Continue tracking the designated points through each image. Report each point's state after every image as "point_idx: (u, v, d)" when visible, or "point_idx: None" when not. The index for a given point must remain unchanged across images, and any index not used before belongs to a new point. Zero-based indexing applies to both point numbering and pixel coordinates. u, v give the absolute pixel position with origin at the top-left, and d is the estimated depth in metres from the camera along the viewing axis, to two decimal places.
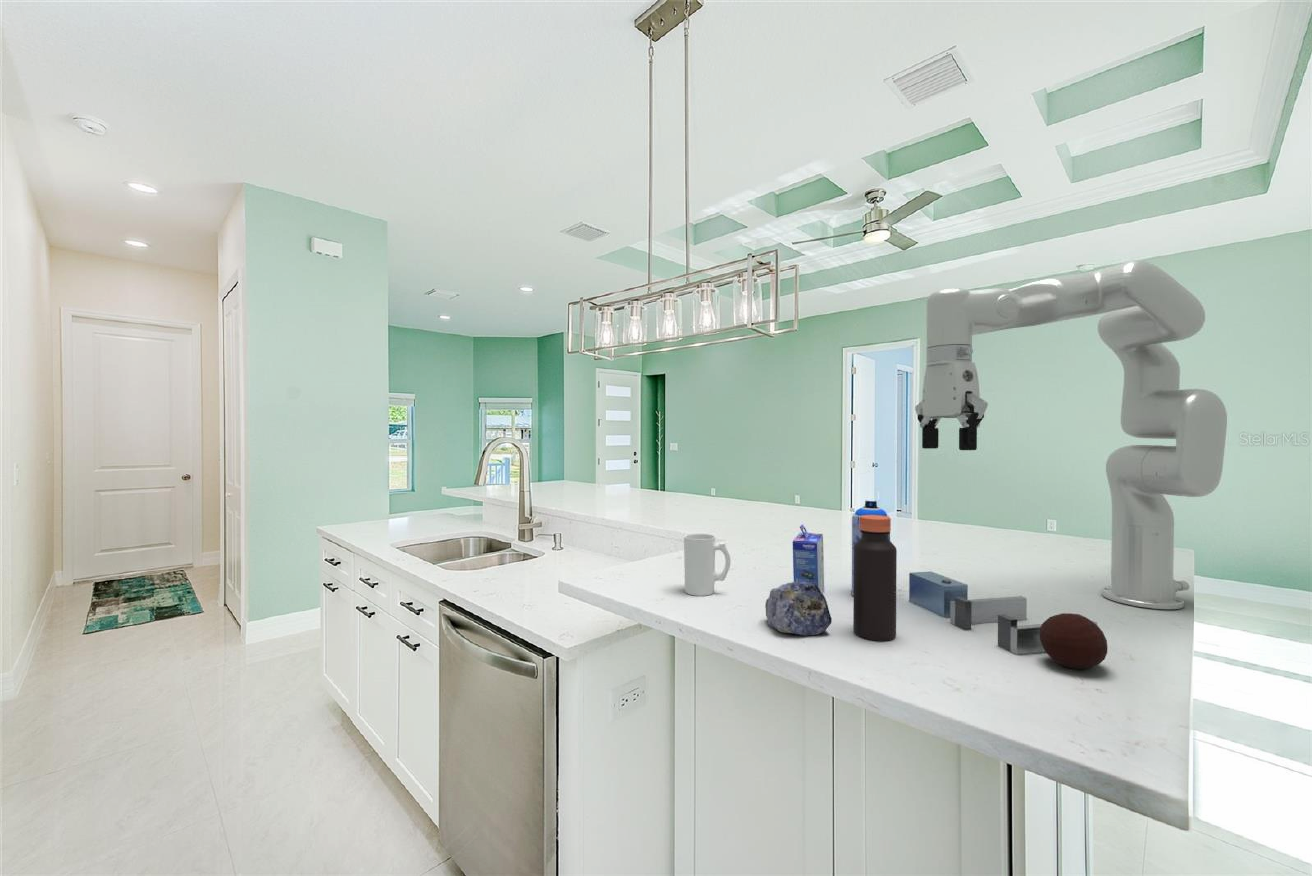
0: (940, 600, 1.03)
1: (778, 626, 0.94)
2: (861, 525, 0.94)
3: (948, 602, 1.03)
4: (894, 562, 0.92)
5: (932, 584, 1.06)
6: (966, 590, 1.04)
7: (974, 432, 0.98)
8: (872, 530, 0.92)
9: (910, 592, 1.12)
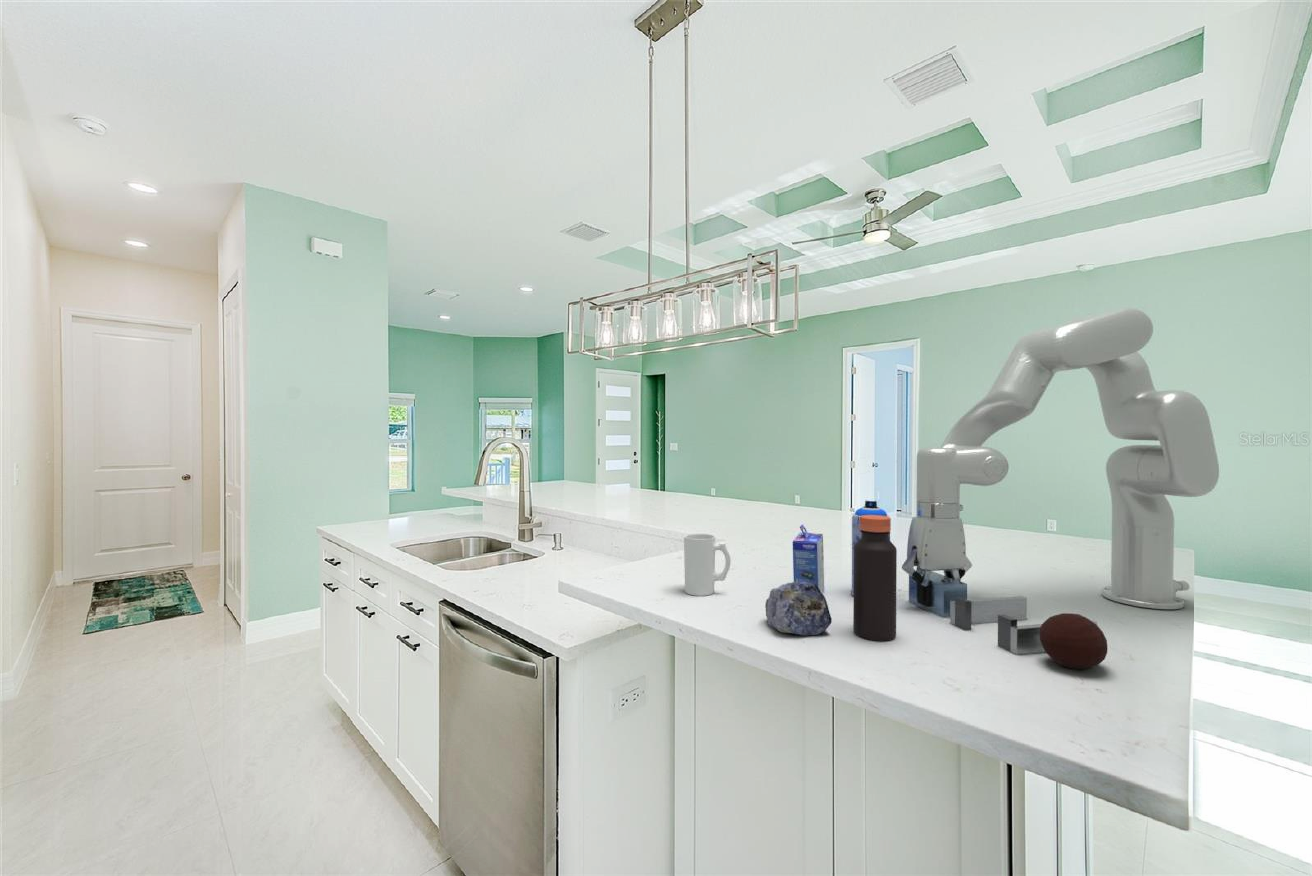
0: (940, 599, 1.04)
1: (778, 626, 0.94)
2: (861, 525, 0.94)
3: (948, 601, 1.03)
4: (894, 562, 0.92)
5: (932, 583, 1.06)
6: (966, 589, 1.04)
7: None
8: (872, 530, 0.92)
9: (910, 591, 1.12)
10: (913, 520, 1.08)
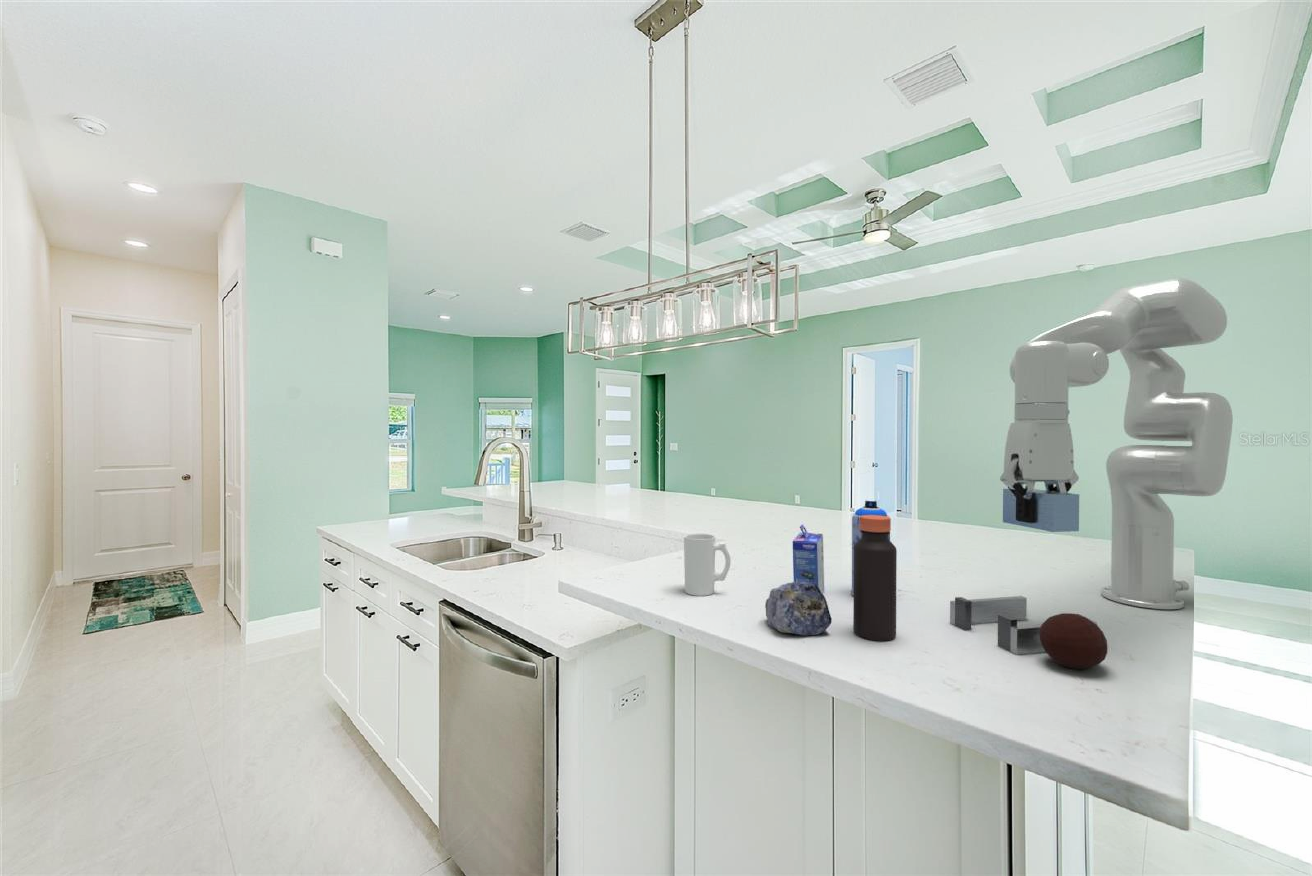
0: (1048, 512, 0.90)
1: (778, 626, 0.94)
2: (861, 525, 0.94)
3: (1058, 513, 0.89)
4: (894, 562, 0.92)
5: (1037, 495, 0.92)
6: (1078, 500, 0.90)
7: None
8: (872, 530, 0.92)
9: (1004, 510, 0.99)
10: (1013, 425, 0.94)
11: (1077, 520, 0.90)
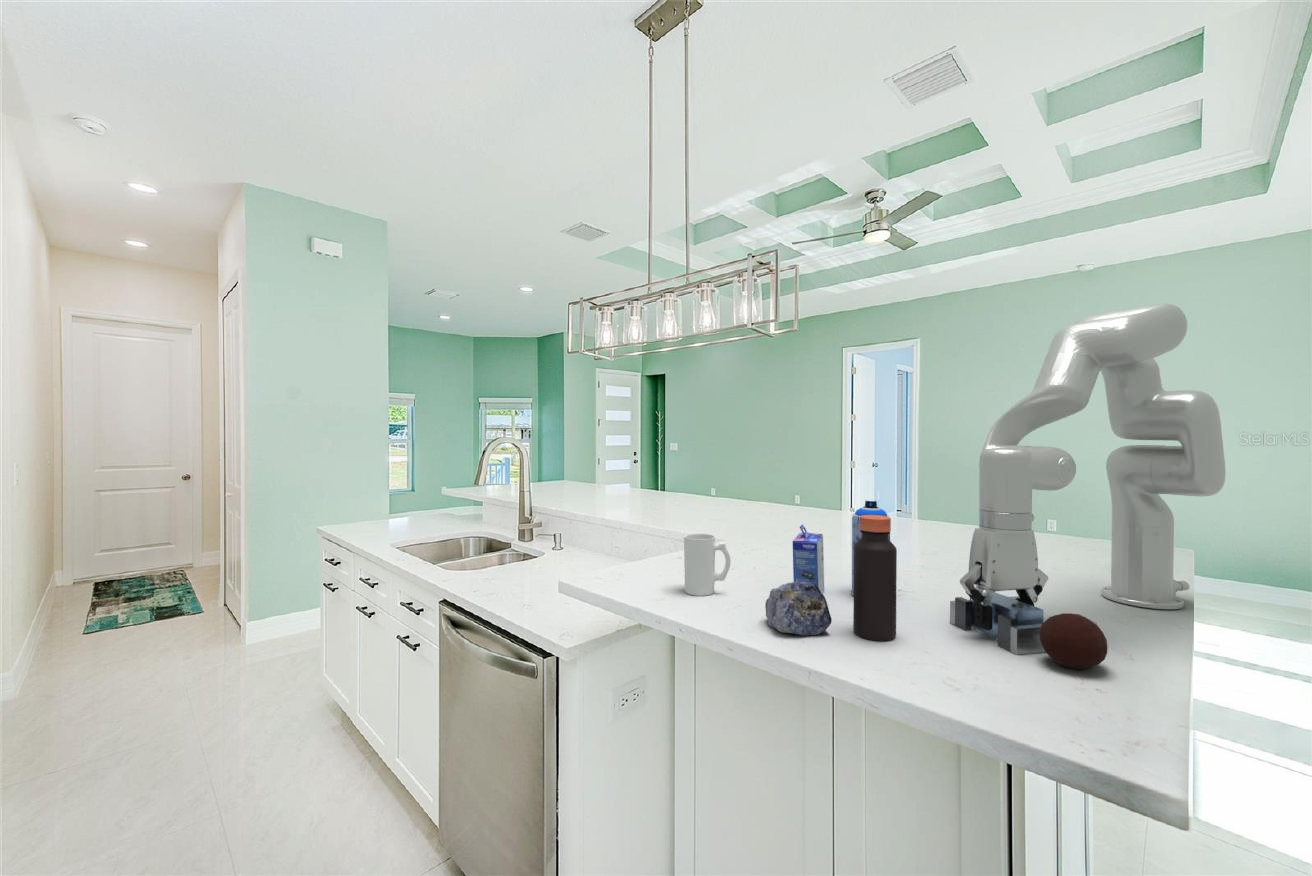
0: None
1: (778, 626, 0.94)
2: (861, 525, 0.94)
3: None
4: (894, 562, 0.92)
5: (1001, 608, 0.91)
6: (1042, 616, 0.89)
7: None
8: (872, 530, 0.92)
9: (971, 616, 0.98)
10: (977, 532, 0.93)
11: None
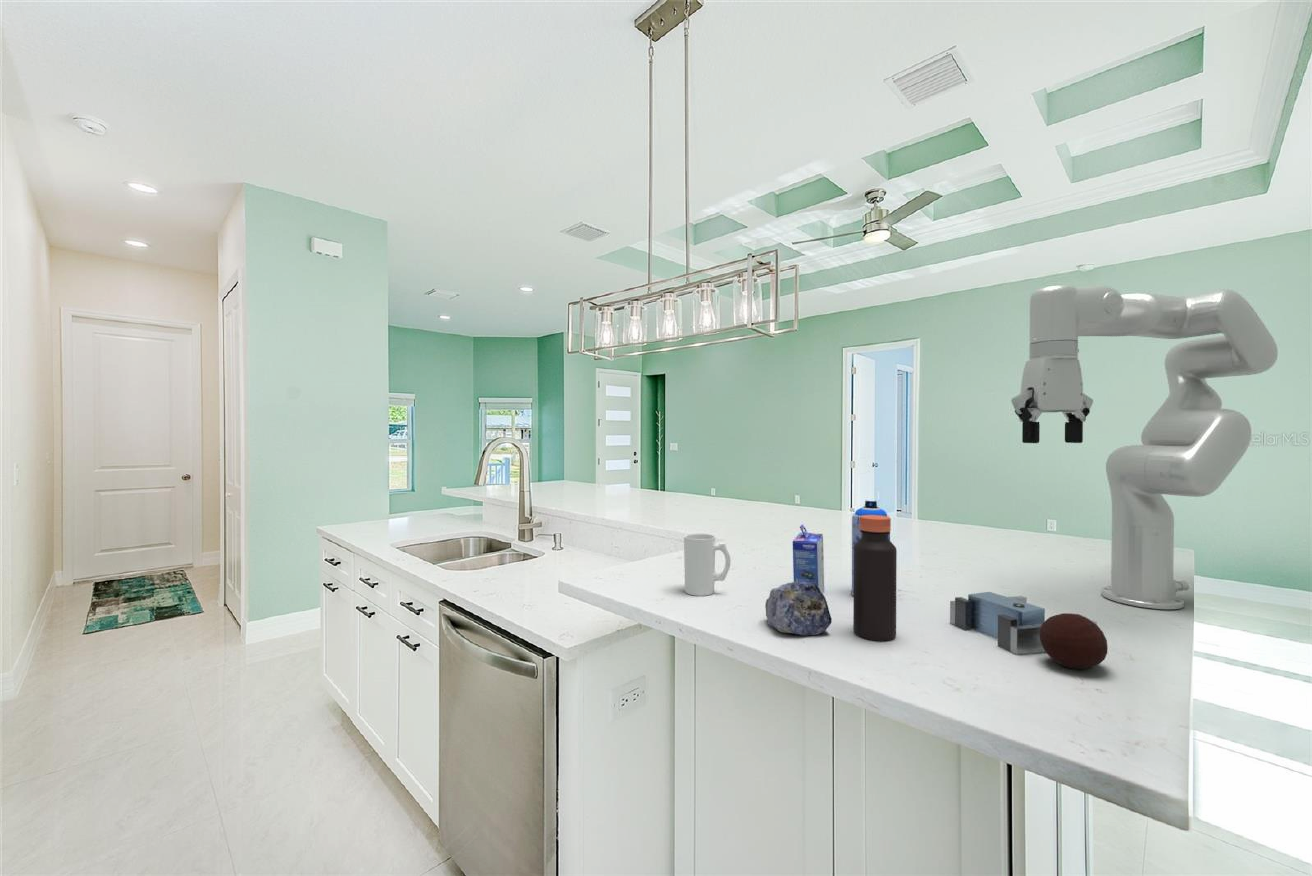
0: None
1: (778, 626, 0.94)
2: (861, 525, 0.94)
3: None
4: (894, 562, 0.92)
5: (1004, 609, 0.91)
6: (1043, 615, 0.90)
7: None
8: (872, 530, 0.92)
9: None
10: (1028, 362, 1.05)
11: None
